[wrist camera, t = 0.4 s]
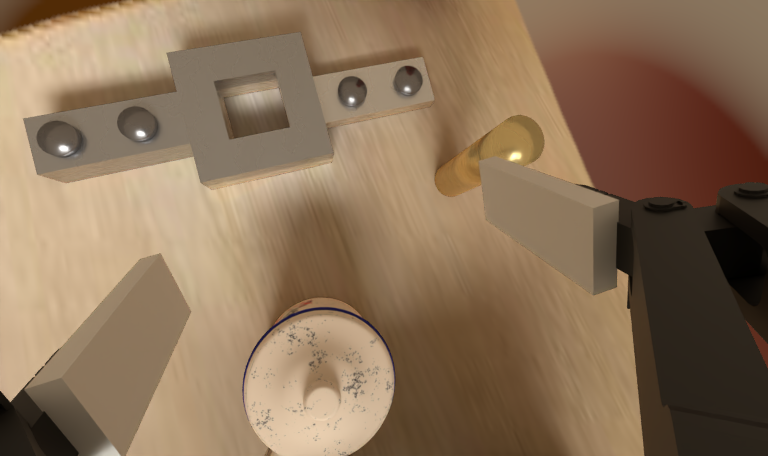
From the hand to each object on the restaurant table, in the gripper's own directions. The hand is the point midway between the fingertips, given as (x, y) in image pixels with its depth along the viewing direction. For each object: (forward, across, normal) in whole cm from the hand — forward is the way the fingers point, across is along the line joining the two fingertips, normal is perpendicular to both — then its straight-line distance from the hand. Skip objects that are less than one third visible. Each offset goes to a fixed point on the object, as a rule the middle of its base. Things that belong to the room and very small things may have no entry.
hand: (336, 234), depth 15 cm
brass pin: (+17, -11, +5) cm, 21 cm away
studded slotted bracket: (+20, +4, -4) cm, 21 cm away
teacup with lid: (+11, +5, +15) cm, 20 cm away
